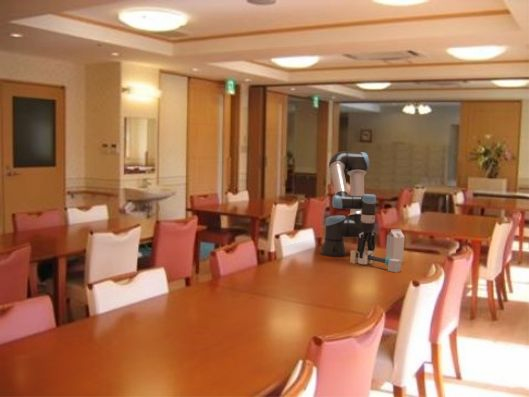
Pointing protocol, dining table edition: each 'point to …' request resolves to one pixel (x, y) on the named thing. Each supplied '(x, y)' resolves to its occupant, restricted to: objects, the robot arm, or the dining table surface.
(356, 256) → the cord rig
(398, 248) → the milk carton
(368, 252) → the sleeve
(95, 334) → the dining table surface
